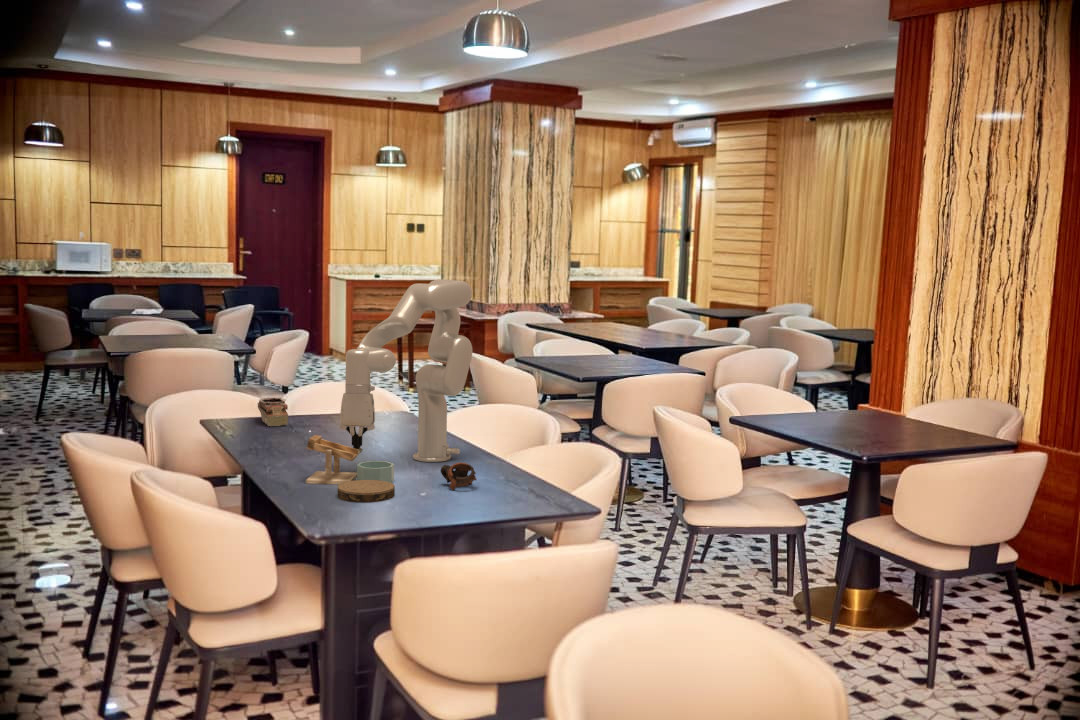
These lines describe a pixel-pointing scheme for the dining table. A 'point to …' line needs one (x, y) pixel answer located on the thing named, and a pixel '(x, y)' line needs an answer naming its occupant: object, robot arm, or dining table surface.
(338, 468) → the frame
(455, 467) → the pottery mug
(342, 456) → the lever
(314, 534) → the dining table surface
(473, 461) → the dining table surface
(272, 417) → the decorative box
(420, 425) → the robot arm
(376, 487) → the wood log slice
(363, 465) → the green octagonal bowl
